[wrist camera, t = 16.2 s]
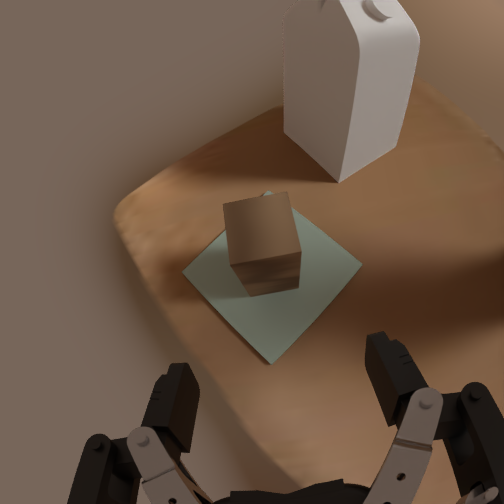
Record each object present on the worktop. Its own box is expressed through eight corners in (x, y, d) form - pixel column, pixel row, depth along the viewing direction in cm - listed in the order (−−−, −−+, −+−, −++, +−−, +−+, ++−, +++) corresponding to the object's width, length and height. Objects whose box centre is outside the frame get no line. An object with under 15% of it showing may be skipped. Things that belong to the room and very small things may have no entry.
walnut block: (289, 244, 30) (287, 191, 21) (298, 288, 28) (301, 251, 19) (244, 252, 30) (222, 204, 21) (250, 297, 28) (229, 264, 19)
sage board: (269, 193, 33) (268, 190, 33) (361, 266, 28) (362, 264, 28) (183, 273, 31) (181, 271, 30) (271, 364, 26) (271, 364, 25)
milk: (341, 104, 38) (348, -44, 14) (395, 146, 34) (437, -17, 10) (283, 132, 37) (262, -43, 13) (338, 183, 33) (363, -31, 9)
